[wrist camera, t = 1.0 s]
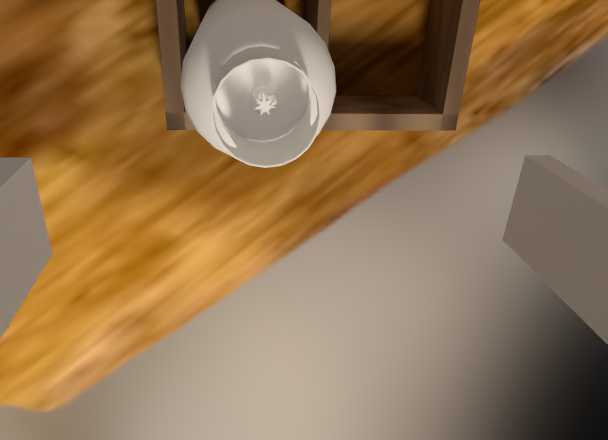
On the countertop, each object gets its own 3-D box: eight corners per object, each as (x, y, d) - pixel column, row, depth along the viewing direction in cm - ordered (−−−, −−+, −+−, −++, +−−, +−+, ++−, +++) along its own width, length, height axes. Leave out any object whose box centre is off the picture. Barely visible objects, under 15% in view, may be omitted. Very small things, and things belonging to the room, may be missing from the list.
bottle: (298, 65, 47) (375, 173, 23) (219, 89, 47) (208, 222, 23) (276, -25, 43) (337, -13, 19) (189, 1, 43) (136, 46, 19)
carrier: (175, 108, 47) (167, 129, 41) (162, -56, 41) (150, -60, 35) (428, 110, 51) (455, 130, 45) (452, -40, 45) (488, -41, 39)
